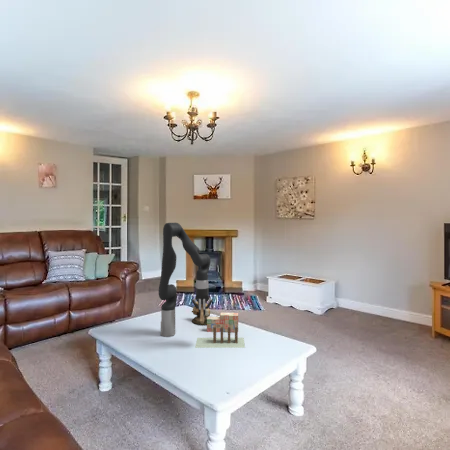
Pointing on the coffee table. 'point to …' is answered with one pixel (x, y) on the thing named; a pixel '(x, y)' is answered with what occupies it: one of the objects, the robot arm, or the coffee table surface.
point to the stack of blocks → (223, 322)
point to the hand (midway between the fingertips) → (202, 315)
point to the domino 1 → (201, 315)
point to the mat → (219, 343)
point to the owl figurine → (197, 318)
